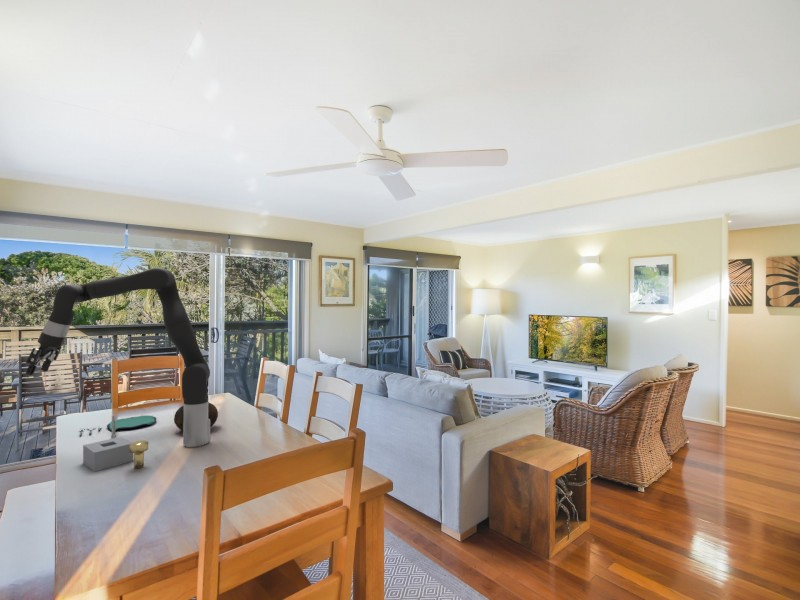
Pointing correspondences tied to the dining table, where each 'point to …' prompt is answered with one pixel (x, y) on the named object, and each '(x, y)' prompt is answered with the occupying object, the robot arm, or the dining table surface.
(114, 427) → the tow hook
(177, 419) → the dark brown ellipsoid
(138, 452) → the brass knob
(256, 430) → the dining table surface
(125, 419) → the cutlery set
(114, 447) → the slate block
